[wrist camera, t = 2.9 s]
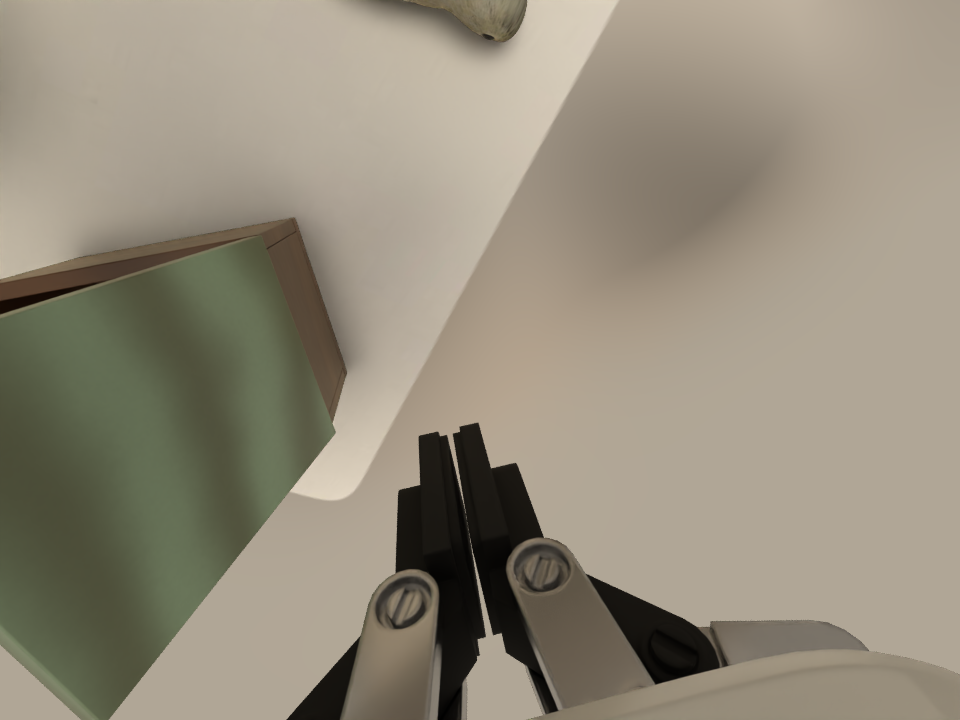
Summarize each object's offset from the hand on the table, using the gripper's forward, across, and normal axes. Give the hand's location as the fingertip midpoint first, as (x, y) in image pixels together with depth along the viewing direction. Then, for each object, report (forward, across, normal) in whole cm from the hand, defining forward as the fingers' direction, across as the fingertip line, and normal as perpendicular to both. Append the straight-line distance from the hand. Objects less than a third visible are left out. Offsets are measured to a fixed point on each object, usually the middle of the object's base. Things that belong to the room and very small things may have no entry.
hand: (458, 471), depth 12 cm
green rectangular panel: (+6, +10, 0) cm, 12 cm away
